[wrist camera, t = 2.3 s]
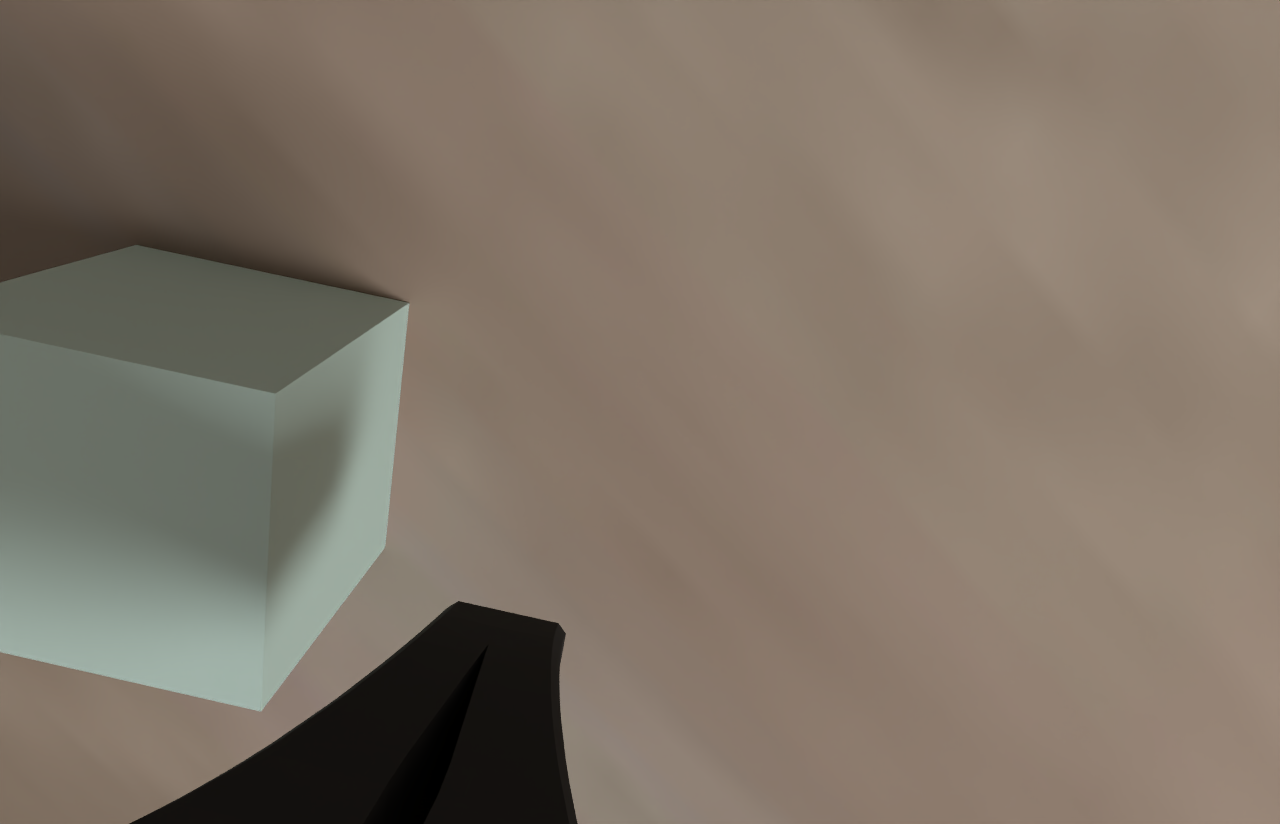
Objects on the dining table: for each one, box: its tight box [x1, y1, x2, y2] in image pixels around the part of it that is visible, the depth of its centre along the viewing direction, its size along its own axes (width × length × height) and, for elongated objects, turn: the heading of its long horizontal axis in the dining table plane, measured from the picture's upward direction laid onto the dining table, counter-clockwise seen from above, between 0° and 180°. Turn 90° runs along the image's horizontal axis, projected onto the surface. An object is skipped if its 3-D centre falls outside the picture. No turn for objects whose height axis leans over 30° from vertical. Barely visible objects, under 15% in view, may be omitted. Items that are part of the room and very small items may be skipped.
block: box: [0, 245, 409, 711], centre depth 15 cm, size 5×5×5 cm
